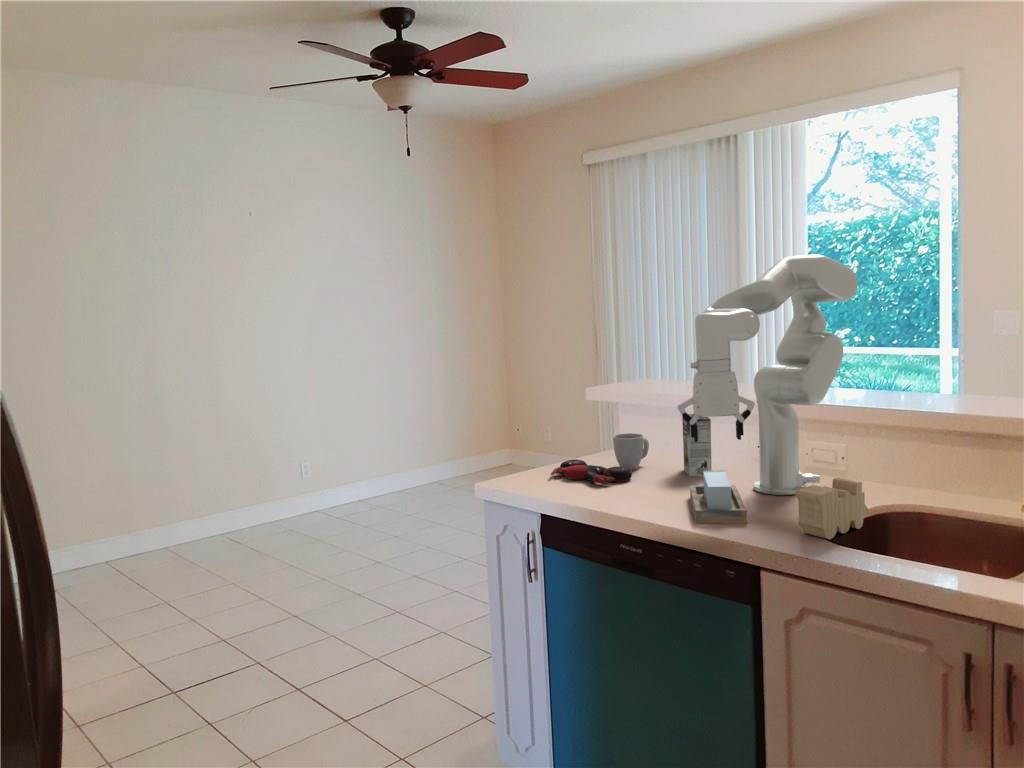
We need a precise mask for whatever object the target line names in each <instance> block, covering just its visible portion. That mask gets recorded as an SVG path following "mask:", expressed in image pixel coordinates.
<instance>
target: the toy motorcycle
mask: <svg viewBox="0 0 1024 768" xmlns="http://www.w3.org/2000/svg"><path fill="white" fill-rule="evenodd" d="M550 473H551V474H550V476H553V475H555V474H556V475H559V476H561V475H564V476H565V477H567V478H568V479H571V480H574V481H592V482H594V483H596V484H603V483H606V482H607V483H610V482H613V483H622V482H627V481H629V480H630V479H631V478H632V476H633V470H630V469H629V468H626V467H621V466H619V465H618V466H611V467H608V468H606V467H604V466H600V465H590V464H587V462H586V461H584V460H581V459H577V458H575V459H568V460H565V461H563V462H562V463H560V465H559V466H558V467H555V468H554V469H553V470H552V472H550Z"/></svg>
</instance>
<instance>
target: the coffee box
mask: <svg viewBox="0 0 1024 768" xmlns="http://www.w3.org/2000/svg"><path fill="white" fill-rule="evenodd" d="M689 415H690V416H692V415H693V413H689ZM681 416H682V415H681ZM681 421H682V442H683V443H682V444H683V449H682V451H683V470H684V471H685V472H686V474H687V475H688V476H689V477H703V471H713V470H712V424H711V423H712V420H711V418H710V417H699V419H698V420H697V421H696V423H697V430H698V441H697V442H695V440H694V437H691V424H690V423H689V422H688V421H687V420H685V419H684V418H683V416H682V420H681Z"/></svg>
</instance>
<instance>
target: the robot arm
mask: <svg viewBox="0 0 1024 768" xmlns="http://www.w3.org/2000/svg"><path fill="white" fill-rule="evenodd" d="M857 290H858V278H857V276H856V273H855V272H854V271H853V270H852V269H851V268H850V267H848V266H847V265H844V264H843V263H841V262H838V261H837V260H835V259H834V258H831V257H828V256H826V255H822V254H806V255H805V254H804V255H803V254H802V255H793V256H787V257H783V258H781V259H779V260H778V261H777V262H776V263H774V264H773V265H772V266H771V267H770V268H768V270H766V272H764V273H763V274H762V275H760V276H759V277H758V278H757V279H756V280H755V281H754V282H751V283H749V284H747V285H744V286H742V287H740V288H737V289H736V290H733V291H731V292H728V293H726V294H724V295H722V296H720V297H718V298H717V299H715V300H714V301H713V302H712V303H711V304H710V305H709V306H708V307H707V308H705V310H704V311H703V312H701V313H699V314H697V315H696V316H695V320H694V326H695V327H694V328H695V332H694V333H695V346H696V348H695V350H696V360H695V361H694V362H690V368H691V369H694V370H697V372H694V375H693V381H692V384H693V385H692V397H690V398H688V399H687V400H684V401H683V402H681V403H679V404H678V405H677V410H678V412H679V413H680V415H681V416H683V418H684V419H685V420H687V421H688V422H689V423H690V424H691V437H694V440H695V442H697V441H698V430H697V423H696V421H697V420H698V419H699V417H708V418H710V417H711V418H712V417H713V418H714V417H715V418H716V417H731V416H732V417H733V416H734V417H735V418H736V421H735V434H736V436H735V437H736V439H737V440H738V441H741V440H742V436H744V422H745V420H746V419H748V417H750V416H751V414H752V412H753V409H754V408H755V405H756V404H757V413H758V439H759V440H758V450H759V451H758V453H759V456H758V457H759V480H758V481H755V482H754V483H753V489H754V491H756V492H758V493H761V494H766V495H772V496H773V495H776V496H790V495H792V496H793V495H795V492H796V490H798V489H801V488H805V487H807V483H809V484H810V483H812V484H820V481H821V480H820V475H817V474H812V473H802V471H801V470H800V422H799V417H798V415H797V412H796V410H795V408H794V406H793V405H796V406H797V405H799V406H815V405H818V404H820V403H821V402H822V401H823V400H824V398H825V396H826V395H827V393H828V391H829V390H830V387H831V386H832V383H833V381H834V379H835V377H836V376H837V373H838V371H839V369H840V367H841V365H842V362H843V357H844V346H843V342H842V340H841V339H840V337H839V336H838V335H836V334H834V333H831V332H827V331H826V329H827V320H826V317H825V315H824V313H823V312H822V311H821V309H820V306H819V305H818V303H832V302H833V303H835V302H838V303H839V302H846V301H849V300H850V299H852V298H853V297H854V296H855V295H856V293H857ZM788 299H790V300H791V305H792V310H793V316H792V319H791V321H790V324H789V325H788V328H787V330H786V332H785V333H784V335H783V337H782V338H781V340H780V343H779V345H778V347H777V350H776V355H775V357H776V361H777V362H778V364H769V365H764V366H763V367H762V368H760V369H758V371H757V372H756V373H755V374H754V378H753V379H754V380H753V389H754V394H755V399H756V402H754V401H753V400H750V399H748V398H745V397H744V396H741V395H740V394H739V389H738V387H739V386H738V380H737V375H736V372H735V371H734V370H732V361H731V359H732V357H731V342H744V341H749V340H751V339H753V338H755V336H756V335H757V334H758V333H759V330H760V325H761V324H760V319H759V316H760V315H763V314H764V315H765V314H767V313H770V312H773V311H776V310H777V309H779V308H780V306H782V305H783V304H784V303H785V302H786V301H787V300H788ZM740 403H741V404H744V405H746V407H745V410H743V411H742V412H741V413H740ZM691 405H692V408H693V413H692V414H693V415H692V416H690V415H689V414H690V413H689V414H688V412H687V411H686V408H688V407H690V406H691Z"/></svg>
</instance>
